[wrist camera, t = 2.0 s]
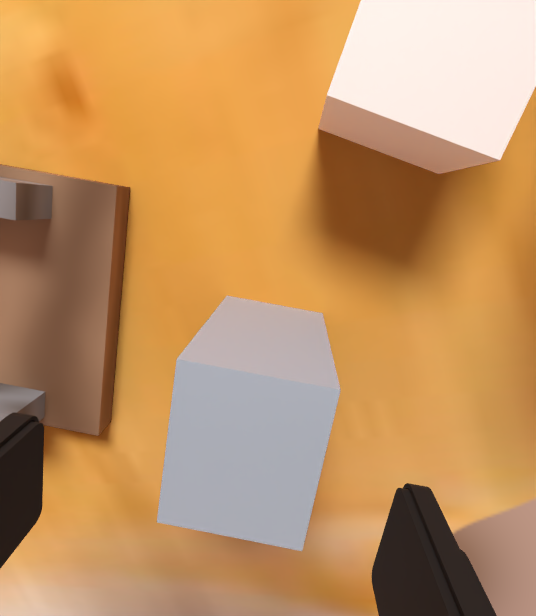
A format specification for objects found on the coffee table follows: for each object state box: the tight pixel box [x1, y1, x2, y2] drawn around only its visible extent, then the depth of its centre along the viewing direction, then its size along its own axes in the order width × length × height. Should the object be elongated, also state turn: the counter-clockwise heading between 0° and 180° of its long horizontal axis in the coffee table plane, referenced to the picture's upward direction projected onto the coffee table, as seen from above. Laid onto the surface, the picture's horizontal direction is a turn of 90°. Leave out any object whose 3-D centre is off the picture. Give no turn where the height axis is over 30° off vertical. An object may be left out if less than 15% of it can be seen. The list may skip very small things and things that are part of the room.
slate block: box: [157, 296, 340, 551], centre depth 17 cm, size 5×6×9 cm
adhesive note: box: [318, 0, 536, 174], centre depth 15 cm, size 6×6×6 cm
